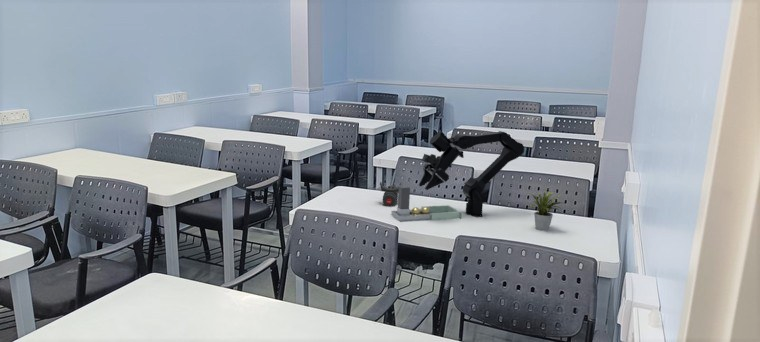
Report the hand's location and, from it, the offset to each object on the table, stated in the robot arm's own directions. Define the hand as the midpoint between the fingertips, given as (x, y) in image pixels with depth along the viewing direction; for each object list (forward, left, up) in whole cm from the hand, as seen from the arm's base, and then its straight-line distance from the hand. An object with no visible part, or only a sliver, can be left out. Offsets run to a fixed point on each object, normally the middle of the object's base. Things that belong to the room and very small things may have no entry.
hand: (422, 187), depth 225 cm
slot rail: (-2, +1, -13) cm, 13 cm away
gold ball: (-2, +1, -12) cm, 12 cm away
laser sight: (+15, -23, -13) cm, 31 cm away
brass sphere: (+2, +2, -12) cm, 13 cm away
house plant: (-48, +8, -13) cm, 50 cm away
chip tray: (-8, -2, -13) cm, 15 cm away
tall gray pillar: (+7, +5, -12) cm, 15 cm away
